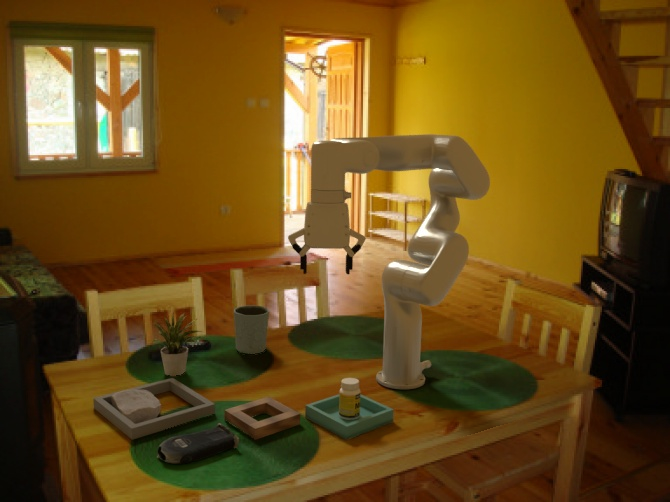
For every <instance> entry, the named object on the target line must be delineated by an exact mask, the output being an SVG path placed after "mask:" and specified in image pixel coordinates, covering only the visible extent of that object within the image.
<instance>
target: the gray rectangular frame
mask: <svg viewBox="0 0 670 502" xmlns="http://www.w3.org/2000/svg"><path fill="white" fill-rule="evenodd" d="M131 389H135V390H137V389H139V390H140V389H143V390H147V391H149V392H151V393H152V394H153V395H154V396H155V395H158V394H160V395H161V394H163V393H167V392H172V393H173V394H175V395H177V396H178V397H179V398H181V399H182V400H184V401H185V402H187V403H188V404H190V405H191V406H192V407H189V408H185V409H182V410H179V411H176V412H175V411H174V412H173V413H169V414H166V415H162V416H159V417H158V416H157V417H156V418H155V419H151V420H148V421H142V422H139V423H136V424H134V423H133V422H132V421H131V420H129V419H128V418H127V417H125V416H124V415H123V414H122V413H120V412H119V411H118V410H117V409H115V408H114V407H113V406H112V402H111V396H112V395H113V394H115V393H117V392H120V391H121V390H119V391H114V392H112V393H107V394H104V395H101V396H96V397H93V400H92V401H93V409H94V410H96V411H97V412H98V413H99V414H100V415H101V416H103V417H104V418H105V419H106V420H108V421H109V422H110V423H111V424H112V425H113V426H115V427H116V428H117V429H119V431H121V432H122V433H123V434H124V435H126V436H127V437H128V438H129V439H131V440H136V439H139V438H142V437H145V436H146V437H147V436H148V435H152V434H156V433H159V432H163V431H165V429H166V430H168V428H169V429H171V427H172V428H175V427H178V426H177V425H179V426H181V425H180V424H182V425H184V424H183V423H185V424H187V423H186V422H189V421H192V420H194V419H197V418H199V417H203V416H206V415H210V414H214V413H215V414H216V404H215V402H213V401H211V400H210V399H208V398H207V397H204V396H203V395H201V394H200V393H198V392H196V391H194V390H193V389H192V388H190V387H188V386H187V385H185V384H183V383H182V382H181V381H178V380H177V379H175V378H174V377H170V378H167V379H163V380H159V381H158V380H157V381H154V382H151V383H147V384H143V385H139V386H135V387H131V388H127V389H126V390H131ZM192 422H193V421H192ZM189 423H190V422H189ZM174 426H175V427H174Z"/></svg>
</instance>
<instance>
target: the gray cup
mask: <svg viewBox="0 0 670 502" xmlns="http://www.w3.org/2000/svg"><path fill="white" fill-rule="evenodd" d="M233 317H234V324H233V325H234V332H235V333H234V334H235V335H234V336H235V340H234V341H235V343H234V344H235V350H236V349H237V350H238V351H240V352H243V353H248V354H249V353H250V354H255V353H260V352H263V351H264V350H265V349H267V340H268V339H267V338H268V337H267V335H268V334H267V333H268V326H269V317H270V309H269V308H267V307H265V306H263V305H256V304H255V305H254V304H253V305H252V304H251V305H250V304H249V305H240V306H238V307H235V308H234V309H233ZM265 351H266V350H265ZM265 351H264V352H265ZM264 352H263V353H264ZM260 354H261V353H260ZM255 355H256V354H255Z"/></svg>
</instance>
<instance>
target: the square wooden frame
mask: <svg viewBox="0 0 670 502" xmlns="http://www.w3.org/2000/svg"><path fill="white" fill-rule="evenodd" d="M262 413H264V414H267V413H268V414H267V415H269V416H270V417H268V418H264V419H261V420H259V421H258V420H257V419H255V418H254V417H252V416H255V415H258V416H260V415H259V414H261V415H263V414H262ZM272 416H273V417H272ZM255 417H256V416H255ZM225 420H227V421H228V422H230V423H231V424H233V425H235V426H236V427H238V428H239V429H241V430H242V431H244V432H245V433H247V434H248V435H249V436H248V435H247V434H246V435H247V436H248V437H250V436H251V437H250V438H252V439H253V438H254V439H253V440H255V441H256V440H259V439H262V438H265V437H268V436H270V435H274V434H276V433H279V432H282V431H285V430H288V429H290V428H293V427H296V426H299V425H301V413H300V412H298V411H296V410H294V409H293V408H291V407H290V406H289V407H288V406H287V405H285V404H283V403H281V402H280V401H277V400H276V399H274V398H272V397H271V396H266V397H263V398H262V397H261V398H260V399H256V400H253V401H249V402H246V403H243V404H240V405H235V406H234V407H233V406H232V407H230V408H227V409H224V421H225ZM228 422H227V423H228ZM230 423H229V424H230ZM231 424H230V425H231ZM233 425H232V426H233ZM236 427H235V428H236ZM239 429H238V430H239ZM241 430H240V431H241ZM242 431H241V432H242ZM244 432H243V433H244ZM245 433H244V434H245Z"/></svg>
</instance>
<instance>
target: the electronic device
mask: <svg viewBox="0 0 670 502" xmlns="http://www.w3.org/2000/svg"><path fill="white" fill-rule="evenodd" d="M239 443H240V438H239V436H237V434H235V433H233V432H232V431H231V429H230V428H228V426H227V425H224V424H223V423H220V422H219V423H218V424H217V425H215V426H214V427H212V428H208V429H205V430H200V431H196V432H193V433H187V434H179V435H175V436H171V437H169V438H167V439H166V440H165V439H164V440H163V441H162V442H161V443H160V444H159V446H158V447H157V456H156V458H159V459H160V460H162V461H163V462H165V463H169V464H173V465H184V464H189V463H192V462H197V461H200V460H204V459H205V458H209V457H212V456H214V455H217V454H220V453H222V452H224V451H225V452H226V451H227V450H229V449H235V448H237V449H238V446H239ZM163 455H164V456H165V459H164V458H163Z"/></svg>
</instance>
